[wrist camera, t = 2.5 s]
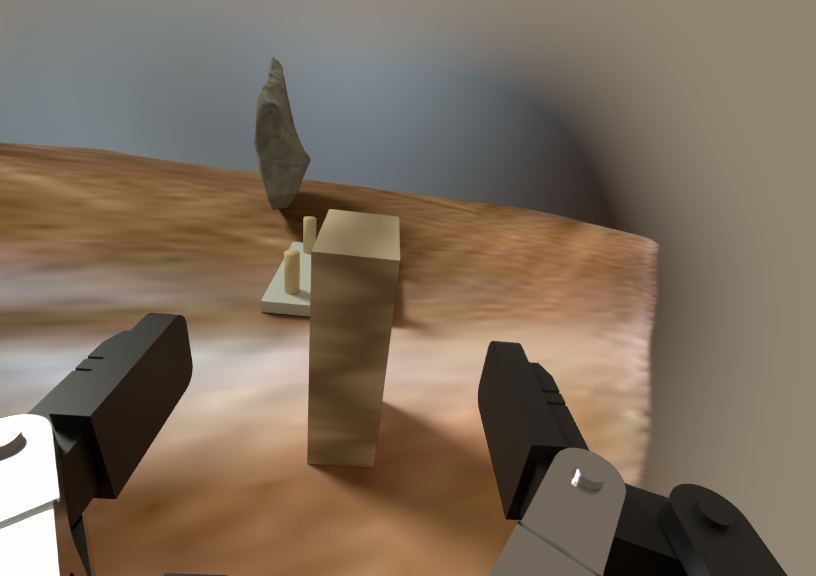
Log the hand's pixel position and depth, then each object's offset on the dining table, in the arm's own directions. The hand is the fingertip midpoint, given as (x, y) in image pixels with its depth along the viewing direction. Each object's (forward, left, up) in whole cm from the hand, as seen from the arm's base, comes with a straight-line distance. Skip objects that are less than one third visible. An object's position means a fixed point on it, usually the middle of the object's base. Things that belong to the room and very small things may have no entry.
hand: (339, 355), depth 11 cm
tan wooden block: (0, +11, -15) cm, 19 cm away
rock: (-14, +52, -15) cm, 56 cm away
